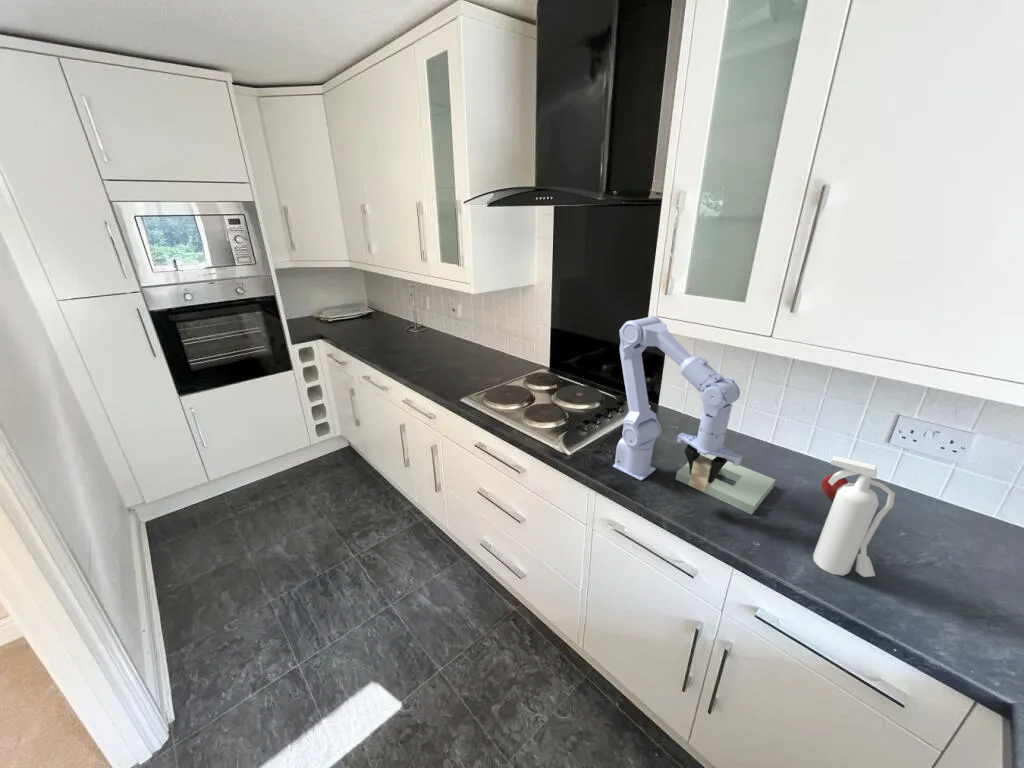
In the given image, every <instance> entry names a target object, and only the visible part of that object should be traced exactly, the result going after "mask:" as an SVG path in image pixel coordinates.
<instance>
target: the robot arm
mask: <svg viewBox="0 0 1024 768" xmlns="http://www.w3.org/2000/svg"><path fill="white" fill-rule="evenodd" d="M619 339H620V344H619V355H620V361H621V368H622V375H623V381H624V382H623V383H624V386H625V387H624V388H625V394H626V400H627V407H628V412H627V414H626V416H625V417H624V419H623V420H622V424H623V427H622V433H621V434H622V437H621V438H620V440H619V441H618V442H617V445H616V450H615V459H614V464H613V465H612V468H615V469H617V470H618V471H620V472H623V473H625V474H626V475H629V476H631V477H633V478H635V479H637V480H638V481H643V480H644V479H646V478H647V477H648V476H650V475H651V474H652V473H653V472H655V471H656V469H657V468H656V467H654V466H651V464H652V463H651V462H652V458H653V457H652V456H653V450H654V445H655V443H656V439H658V438H659V437H660V436H661V434H662V428H661V427H662V426H661V424H660V422H659V420H658V417H657V413H655V412H654V411H653V410H651V409H650V405H649V404H650V403H649V396H648V391H647V390H648V389H647V384H646V376H645V370H644V368H645V367H644V363H643V356H642V354H643V352H644V351H645V350H646V349H647V347H657V348H658V349H659V350H660V351H662V352H663V353H664V354H665V355H667V356H668V357H669V358H670V359H671V360H672V361H674V362H675V363H676V364H677V365H678V366H679V367H680V374H681V375H682V376H683V378H685V379H686V381H688V383H690V384H691V385H692V386H693V387H694V388H695V389H696V390H697V391H698V392H699V393H700V399H701V401H702V404H703V405H702V412H701V413H702V414H701V417H700V423H699V426H698V431H697V435H690V434H687V433H684V432H681V433H679V434H678V435H677V440H676V442H677V443H678V444H684V445H686V448H685V449H684V455H685V456H686V459H687V463H689V469H690V475H691V471H692V466H693V462H694V460H696V459H697V458H698V457H699V456H700V454H703V455H707V454H709V455H713V456H716V458H714V459H713V460H712V461H711V472H710V476H709V480H708V483H710V484H711V483H712V482H713V481H714V480H715V478H716V479H717V475H719V474H718V472H719V471H720V469H721V468H722V467H723V466H724V465H725V463H726V462H727V461H729V462H732V463H733V465H735V466H738V465H740V464H741V463H742V459H743V456H742V455H741V454H739V453H737V452H735V451H733V450H731V449H729V448H728V447H726V446H725V445H724V441H725V437H726V434H727V433H726V432H727V430H728V424H729V422H730V421H729V420H730V417H731V411H732V408H733V403H735V402H736V401H737V400H738V399H739V398H740V394H741V391H740V387H739V385H738V384H737V383H736V381H735V380H734V379H732V378H729V377H724V376H723V375H722V374H720V373H718V372H717V371H716V370H715V369H714V368H713V367H711V365H709V364H708V362H709V361H708V360H707V359H706V358H702V357H701V356H692V355H691V354H690V353H689V351H687V350H686V349H685V348H684V346H683V345H682V344H681V343H680V342H679V341H678V340H677V339H676V337H674V335H672V333H671V332H669V330H668V326H667V324H666V323H664V322H663V321H662V320H661V318H659V317H658V316H656V315H651V316H647V317H643V318H639V319H634V320H627V321H625V323H623V324H622V326H621V328H620V329H619Z"/></svg>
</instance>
